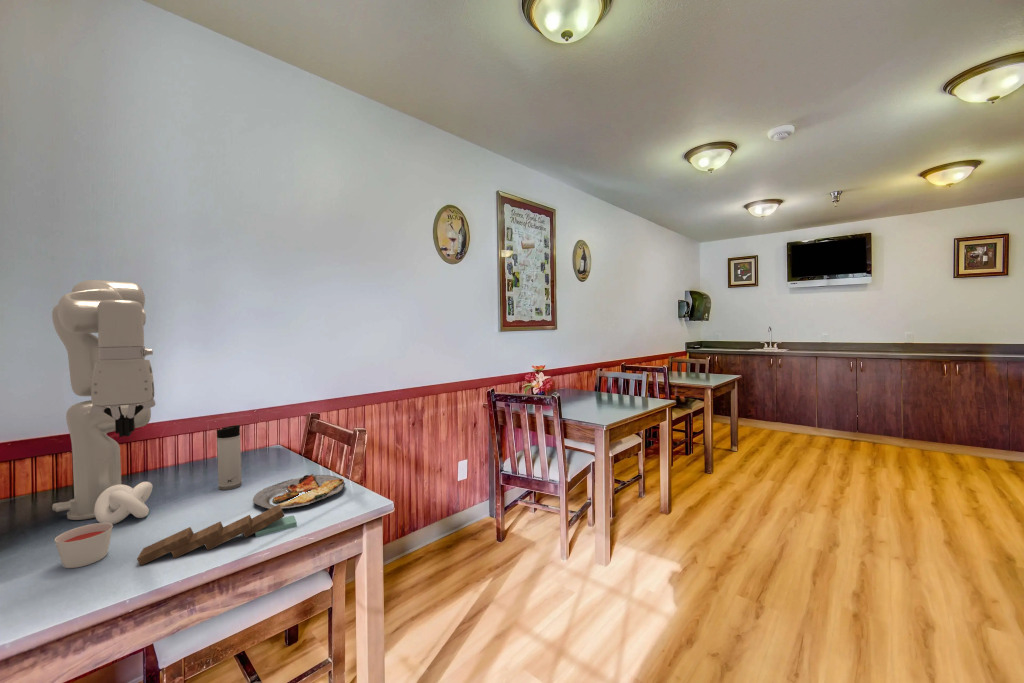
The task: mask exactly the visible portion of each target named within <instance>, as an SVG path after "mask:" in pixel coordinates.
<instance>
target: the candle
mask: <svg viewBox="0 0 1024 683" xmlns="http://www.w3.org/2000/svg"><path fill="white" fill-rule="evenodd" d="M113 527H114V524H111V523H100V522H98V523H97V522H96V523H90V524H87V525H82V526H79V527H75V528H73V529H69V530H67V531H64V532H62V533H61V534H58V535H57V536H56V537H55V539H54V543H55V547H56V550H57V552H58V553H57V554H58V557H59V558H60V561H61V564H62V567H63V568H66V569H74V568H75V569H76V568H81V567H85V566H88V565H91V564H93V563H96V562H98V561H101V560H102V559H104V558H106V557H107V555H108V552H109V549H110V542H111V539H112V538H111V537H112V532H113Z"/></svg>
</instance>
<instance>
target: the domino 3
mask: <svg viewBox="0 0 1024 683" xmlns="http://www.w3.org/2000/svg"><path fill="white" fill-rule="evenodd" d="M252 518H253V517H252V516H251V514H249V515H246V516H244V517H241V518H240V519H237V520H236V521H233V522H231V523H229V524H227V525H225V526H223V527H224V528H223V531H222V534H221V537H219V538H217V539H215V540H213V541H210V542H208V543H206V544H204V546H205V548H206V550H207V551H209V550H211V549H213V548H216V547H217V546H220V545H221V544H223V543H226V542H228V541H230V540H232V539H234V538H236V537H239V536H240V535H242V534H243V533H244V532H246V531H249V530H251V526H252V522H253V521H252Z"/></svg>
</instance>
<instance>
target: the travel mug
mask: <svg viewBox="0 0 1024 683" xmlns="http://www.w3.org/2000/svg"><path fill="white" fill-rule="evenodd" d="M240 428H241V425H240V424H237V425H230V426H224V427H221V428H220V429H216V445H217V446H216V447H217V448H216V449H217V450H216V451H217V453H216V454H217V456H216V458H217V482H218V490H220V491H228V490H233V489H236V488H237V489H238V487H241V485H242V483H243V482H242V481H243V480H242V479H243V478H242V456H241V455H242V453H241V452H242V449H241V429H240Z"/></svg>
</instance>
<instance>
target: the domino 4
mask: <svg viewBox="0 0 1024 683" xmlns="http://www.w3.org/2000/svg"><path fill="white" fill-rule="evenodd" d="M279 504H280V503H279ZM279 504H275V505H274V506H275V507H273V508H271V509H267V510H265V511H264V512H262V513H259V514H258V515H256V516H254V517H251V518H252V521H253V522H252V526H251V530H249V531H246V532H244V533H242V534H243V535H244V538H245V539H246V538H247V537H250V536H252V535H254V534H255V532H257V531H259V530H261V529H262V528H264V527H266V526H268V525H270V524H272V523H273V522H275V521H277V520H279V519H281V518H284V517H285V514H284V511H283V508H281V507H280V505H279Z"/></svg>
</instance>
